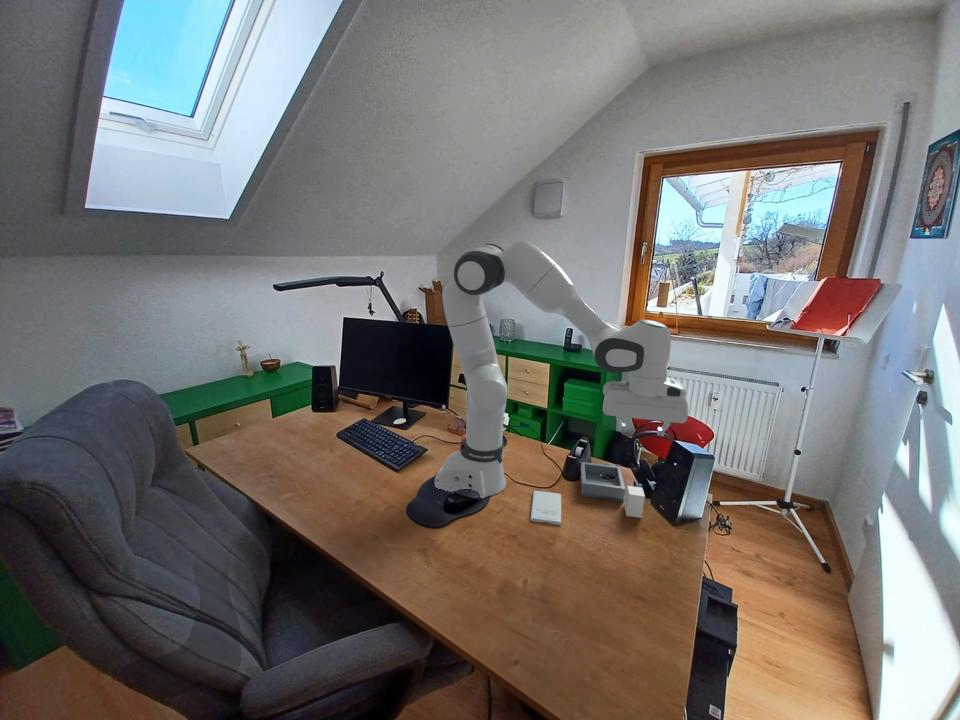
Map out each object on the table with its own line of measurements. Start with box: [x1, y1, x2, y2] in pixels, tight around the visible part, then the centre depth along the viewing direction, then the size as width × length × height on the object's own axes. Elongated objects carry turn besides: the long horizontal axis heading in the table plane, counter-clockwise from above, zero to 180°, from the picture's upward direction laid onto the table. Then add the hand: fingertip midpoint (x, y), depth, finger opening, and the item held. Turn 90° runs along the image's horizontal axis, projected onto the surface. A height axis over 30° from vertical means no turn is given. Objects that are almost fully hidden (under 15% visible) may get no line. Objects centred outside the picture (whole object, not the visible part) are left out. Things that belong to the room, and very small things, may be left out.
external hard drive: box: [529, 490, 562, 526], centre depth 110 cm, size 2×8×12 cm
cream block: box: [623, 485, 646, 519], centre depth 108 cm, size 4×4×7 cm
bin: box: [579, 461, 626, 503], centre depth 119 cm, size 12×12×4 cm
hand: (640, 432), depth 102 cm, fingers open, 8 cm apart
